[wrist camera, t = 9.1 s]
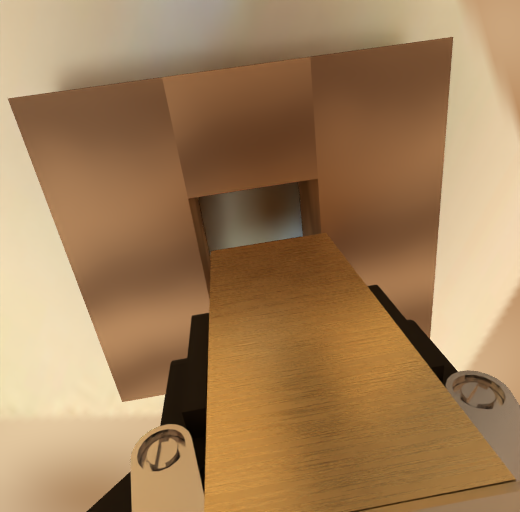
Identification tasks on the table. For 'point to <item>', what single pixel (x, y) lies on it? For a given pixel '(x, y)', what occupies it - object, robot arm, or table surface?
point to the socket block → (239, 182)
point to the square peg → (323, 392)
